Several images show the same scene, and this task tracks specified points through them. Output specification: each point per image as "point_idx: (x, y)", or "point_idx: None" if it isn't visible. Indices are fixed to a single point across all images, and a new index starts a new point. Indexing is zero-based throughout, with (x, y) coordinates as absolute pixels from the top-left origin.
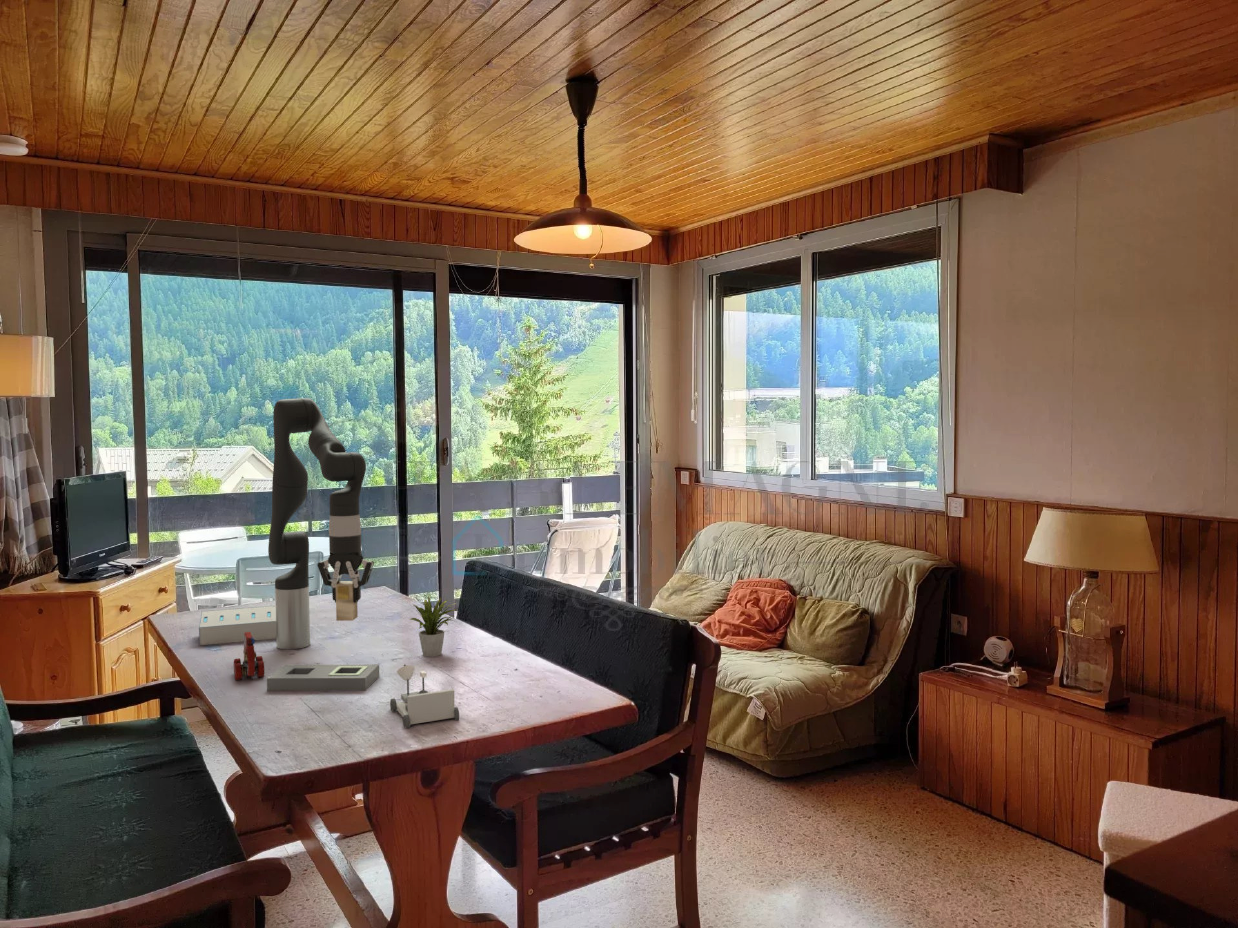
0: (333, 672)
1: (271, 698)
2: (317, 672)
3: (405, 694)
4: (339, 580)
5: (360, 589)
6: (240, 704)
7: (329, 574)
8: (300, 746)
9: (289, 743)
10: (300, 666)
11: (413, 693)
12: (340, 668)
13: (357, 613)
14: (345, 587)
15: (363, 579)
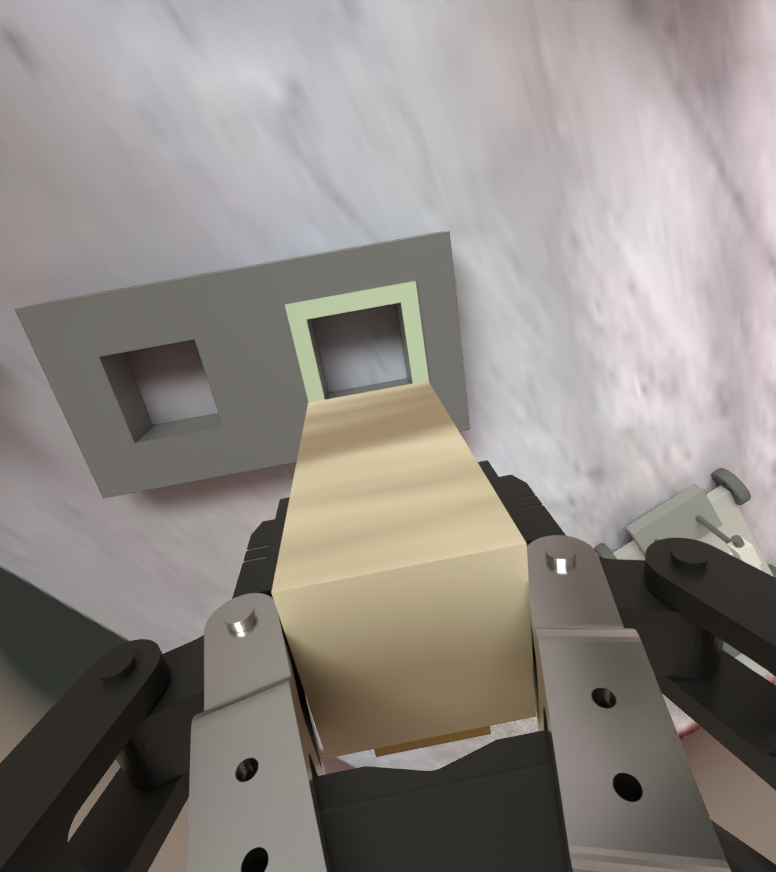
0: (317, 395)
1: (202, 539)
2: (246, 396)
3: (646, 533)
4: (291, 672)
5: (559, 531)
6: (151, 598)
7: (72, 800)
8: None
9: (449, 749)
10: (106, 324)
11: (667, 521)
12: (308, 326)
13: (433, 391)
14: (469, 734)
15: (717, 707)
